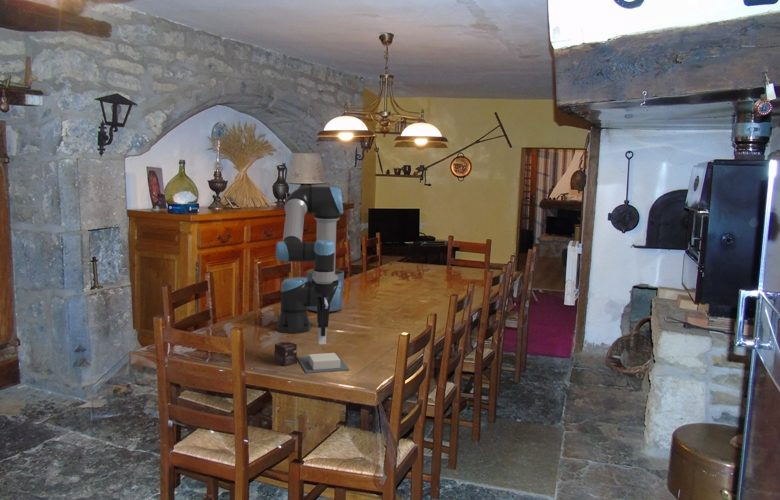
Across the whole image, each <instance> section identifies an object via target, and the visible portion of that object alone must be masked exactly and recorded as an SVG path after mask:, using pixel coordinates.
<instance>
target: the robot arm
mask: <svg viewBox="0 0 780 500" xmlns="http://www.w3.org/2000/svg"><path fill="white" fill-rule="evenodd" d="M283 208H284V209H283V210H284V212H285V218H284V220H285V221H284V228H283V236H282V241H277V242H276V243H275V244H276V245H275V259H276V260H277V261H279V262H299V263H301V262H303V263H304V262H306V263H310V262H311V263H313V269H314V273H313V274H312V276H313V277H312V281H308V279H307V276H296V277H288V278H286V279H283V280H282V281H281V285H280V313H279V317H278V320H277V322H276V330H277V331H278V332H280V333H286V334H287V333H288V334H301V333H305V332H309V331H310V330H311V321H310V318H309V315H308V309H307V307H317V312H316V316H317V317H316V322H317V328H318V332H317V334H318V337H317V340H318V342H317V343H318V345H326V344H327V329H328V328H329V322H330V321H329V320H330V319H329V317H330V312H329V309H330V307H335V306H337V305H338V302H339V298H340V291H341V282H340V281H338V277H337V276H336V275H335V269H336V257H337V256H336V253H337V249H336V248H337V222H338V221H339V220H340V219H341V215H343V214H344V205H343V196H342V190H341V188H339V187H336V186H309V185H305V186H302V187H298V188H297V189H295V190H294V191H292V192H291V193H290V194H289V195H288V197H287V198H286V200H285V203H284V207H283ZM306 214H313V218H314V220H315V221H316V241H315V242H311V241H310V242H309V241H308V242H307V241H306V242H305V241H303V233H304V223H305V220H304V219H305V215H306Z"/></svg>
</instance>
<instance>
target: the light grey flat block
mask: <svg viewBox="0 0 780 500" xmlns="http://www.w3.org/2000/svg"><path fill="white" fill-rule="evenodd" d="M337 355H338V354H336V352H329V353H328V352H327V353H313V354H308V356H309V364H310V365H311V367H312V368H313V370H319V369H333V368H340V361H341V360H342V359H341V360H340V359H339V358H338V356H339V355H338V356H337Z"/></svg>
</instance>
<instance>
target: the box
mask: <svg viewBox="0 0 780 500" xmlns="http://www.w3.org/2000/svg"><path fill="white" fill-rule="evenodd" d="M297 345H298V344H297V343H293V342H291V341H282V342H278V343H275V344H274V363H275V364H277V365H280V366H283V367H287V366H290V365H294V364H296V363H297V362H298V361H297V360H298V359H297V357H298V356H297V354H298V351H297V349H298V347H297Z"/></svg>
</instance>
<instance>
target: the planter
mask: <svg viewBox="0 0 780 500" xmlns="http://www.w3.org/2000/svg"><path fill="white" fill-rule="evenodd" d="M313 273H314V268H312V269H308V270H306V278H307V279H308V281H312V277H313V276H312V274H313ZM335 275H336V276H337V277H338V281H340V282H341V291H340V298H339V302H338V305H337V306H335V307H330V309H329V313H331V312H336V311H339V310H340V311H342V309H343V308H342V307H343V299H344V297H343V296H344V295H343V294H344V284H345V283H344V279H345V272H344V270H342V269H337V268H335ZM307 310H309V311H312V312H316V313H317V307H307Z"/></svg>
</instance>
